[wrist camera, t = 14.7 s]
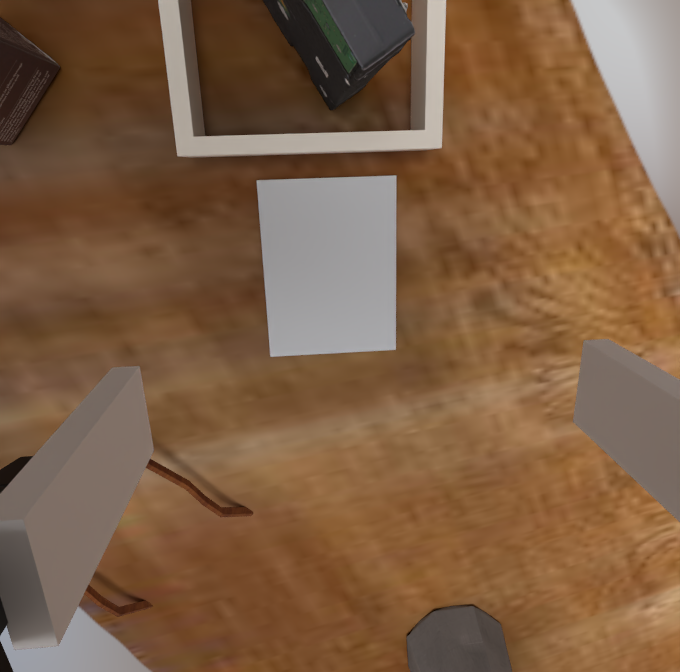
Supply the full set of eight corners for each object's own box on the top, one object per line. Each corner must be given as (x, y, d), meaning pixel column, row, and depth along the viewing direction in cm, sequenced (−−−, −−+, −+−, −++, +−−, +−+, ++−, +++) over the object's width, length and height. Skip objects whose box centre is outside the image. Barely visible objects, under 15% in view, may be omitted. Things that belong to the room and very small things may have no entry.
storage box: (157, -137, 28) (135, -185, 24) (431, -136, 29) (451, -181, 25) (191, 157, 32) (177, 156, 29) (425, 150, 33) (441, 148, 30)
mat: (257, 180, 33) (256, 180, 33) (395, 175, 34) (396, 175, 33) (270, 354, 37) (270, 356, 36) (394, 347, 38) (395, 349, 37)
